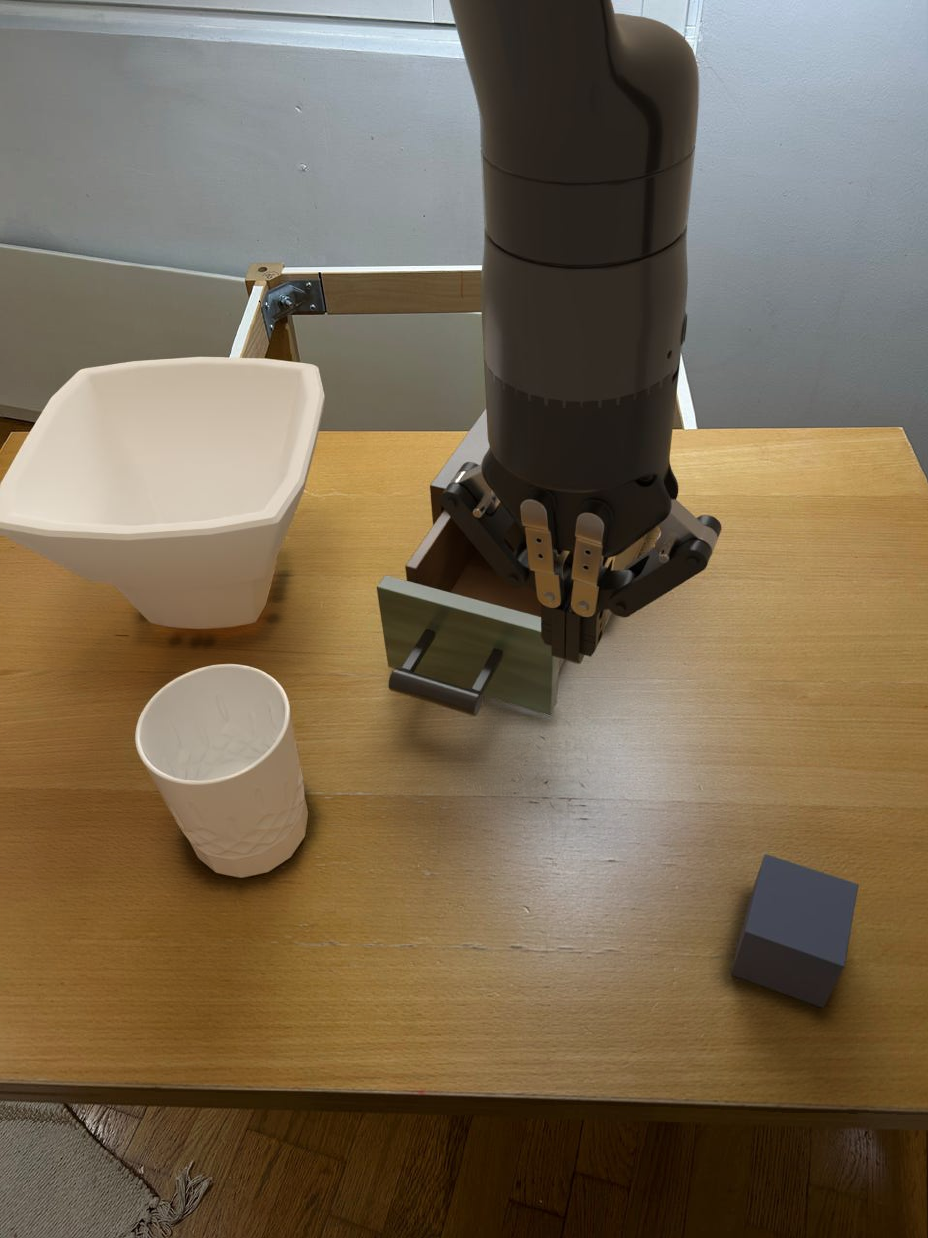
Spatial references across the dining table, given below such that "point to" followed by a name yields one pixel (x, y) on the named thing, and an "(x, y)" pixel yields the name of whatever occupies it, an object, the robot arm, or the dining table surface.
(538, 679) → the drawer
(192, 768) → the white cup
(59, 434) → the bowl
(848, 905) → the block
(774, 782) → the dining table surface
